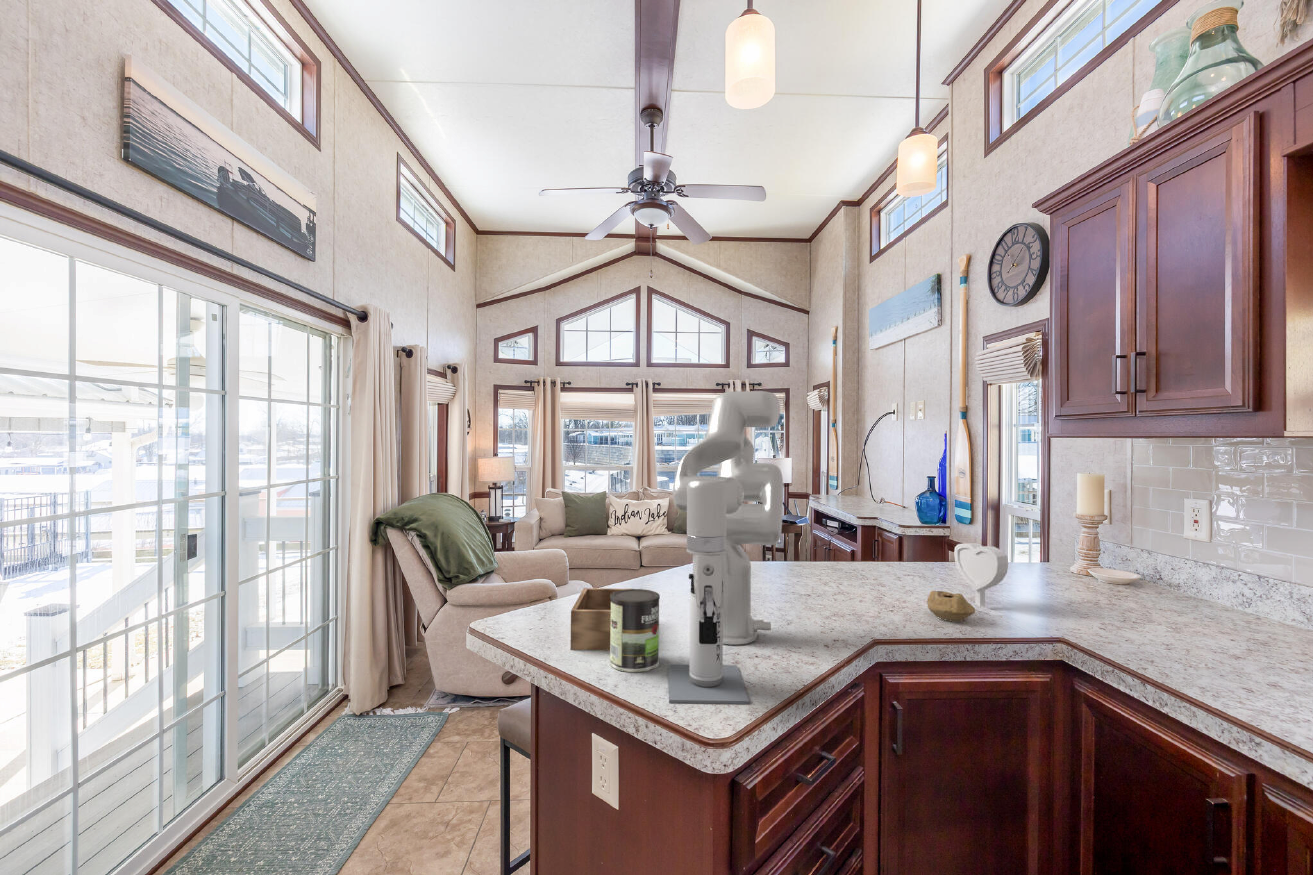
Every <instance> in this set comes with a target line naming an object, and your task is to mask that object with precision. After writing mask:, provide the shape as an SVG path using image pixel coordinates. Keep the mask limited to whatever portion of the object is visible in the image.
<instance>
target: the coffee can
mask: <svg viewBox="0 0 1313 875" xmlns="http://www.w3.org/2000/svg"><path fill="white" fill-rule="evenodd" d="M625 589H626V590H620V591H616V592H613V593H612V594H611V595H610V599H611V637H610V650H609V655H610V656H609V658H610V659H609V665H610V666H611V667H612V669H615V670H617V671H621V672H626V673H642V672H644V673H645V672H648V671H651V670H654V669H655V668H657V667H658V666H659V663H660V662H659V658H660V657H659V656H660V655H659V653H660V652H659V650H660V649H659V645H660V644H659V643H660V640H659V639H660V638H659V637H660V636H659V635H660V631H659V630H660V629H659V628H660V597H661V596H660V593H658V592H656V591H653V590H650V589H645V588H644V589H641V588H625Z"/></svg>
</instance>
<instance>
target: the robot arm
mask: <svg viewBox="0 0 1313 875" xmlns="http://www.w3.org/2000/svg"><path fill="white" fill-rule="evenodd" d="M710 409H711V410H710V415H709V419H708V424H707V430H706V434H705V438H703V439H702V440H700V441H699V442H697V443H696V444H694V446H693V447H691V448H690V449H689V450H688V451H687V452H686V453H685V454H684V455H683V457H682V458H681V459H680V461H679V463H678V466H677V470H676V474H675V479H674V483H673V489H672V501H673V504H674V506H675V508H676V509H678V510H679V511H681V512H685V513H686V552H687V553H688V554H691V555H692V574H693V577H694V593H695V600H696V606H697V607H698V608H700V616H701V621H699V643H700V644H716V643H717V621H716V606H717V607H719V609H721V608H722V607H723V645H733V646H734V645H737V646H738V645H746V644H749V643H753V642H755V641H756V640H757V638H758V631H771V630H772V623H771V621H764V619H755V618H753V617H752V615H751V613H752V612H751V608H752V605H751V604H752V600H751V599H752V597H751V596H752V592H751V590H752V589H751V588H752V587H751V586H752V585H751V584H752V582H751V580H752V579H751V578H752V564H751V559H750V558H749V555H748V554H747V553H746V551H745V550H744V549H743V547H742V546H741V545H755V546H756V545H758V546H773V545H776V544H778V542H779V541H780V539H781V536H782V532H783V531H782V528H783V504H784V502H783V501H784V500H783V499H784V480H783V478H784V477H783V474H782V471H781V469H780V468H779V467H778V465H776V464H774V463H767V462H764V463H763V462H758V463H757V462H754V458H755V456H754V455H755V448H754V445H753V443H752V442H751V440H750V439H749V437H747V435H746V434H745V432H746V428H773V427H775V426H776V425H777V424H778V421H779V420H780V414H781V405H780V401H779V398H778V396H777V394H774V393H773V392H769V391H764V390H751V391H750V390H748V391H747V390H745V391H727V392H722V393H720V394H719V395H717V396H716V397H715V398H714V400H712V403H711V408H710ZM716 465H718V473H717V474H718V475H717V476H715V475H714V476H713V475H697V474H699V473H701V472H702V471H704V470H705V469H707V468H711V467H714V466H716ZM744 502H749V503H744ZM750 502H752V503H750ZM753 502H755V503H753ZM722 581H723V588H722ZM704 589H705V595H704ZM722 589H723V595H722ZM715 604H716V606H715Z"/></svg>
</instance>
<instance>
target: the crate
mask: <svg viewBox="0 0 1313 875" xmlns="http://www.w3.org/2000/svg"><path fill="white" fill-rule="evenodd" d="M626 589H627V588H608V587H607V588H605V587H604V588H599V587H598V588H594V587H593V588H591V587H589V588H588V587H587V588H586V587H584V588H583V589H582V591H581V593H580V594H579V595H578V598H577V600H576V601H575V603H574V605H573V606H572V608H571V610H570V647H569V648H570V650H571V651H574V650H575V651H577V650H578V651H582V650H583V651H587V650H588V651H610V637H611V599H610V595H611V594H612V593H613V592H616V591H620V590H626Z"/></svg>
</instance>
